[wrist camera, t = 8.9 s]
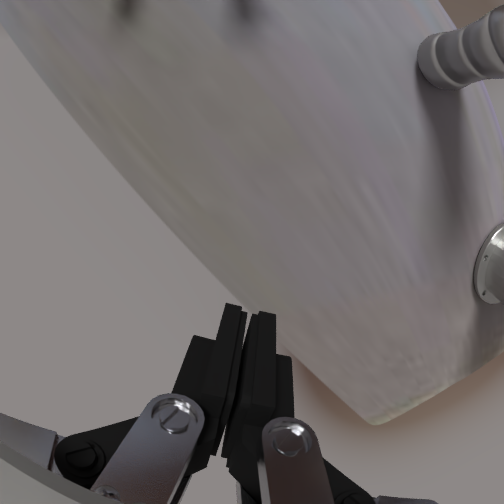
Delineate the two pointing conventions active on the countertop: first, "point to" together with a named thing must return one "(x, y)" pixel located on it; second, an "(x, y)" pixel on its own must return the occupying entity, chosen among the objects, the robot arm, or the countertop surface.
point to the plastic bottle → (465, 53)
